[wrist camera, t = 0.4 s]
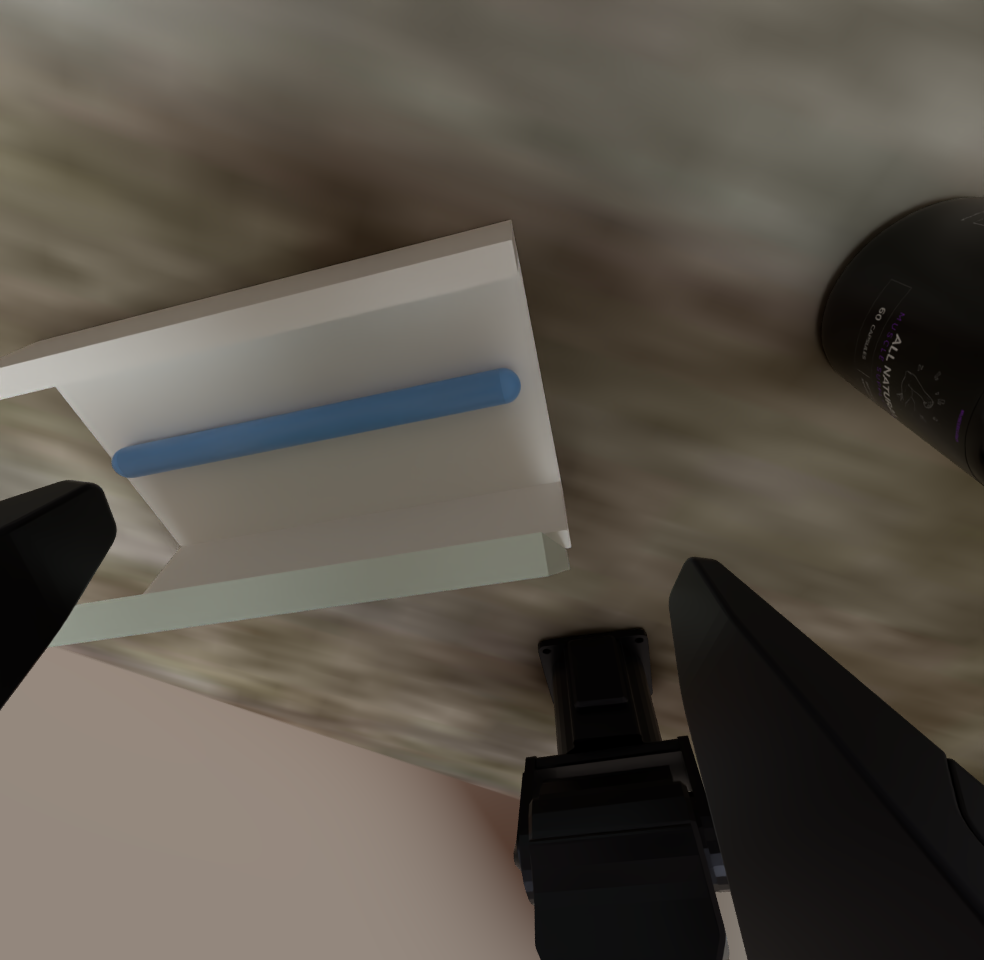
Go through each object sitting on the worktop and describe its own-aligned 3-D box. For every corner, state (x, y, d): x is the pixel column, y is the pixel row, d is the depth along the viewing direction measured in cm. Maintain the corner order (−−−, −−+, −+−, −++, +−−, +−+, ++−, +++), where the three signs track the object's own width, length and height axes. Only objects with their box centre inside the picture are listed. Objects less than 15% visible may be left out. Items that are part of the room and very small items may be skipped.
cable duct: (562, 490, 24) (571, 547, 21) (197, 552, 27) (154, 610, 24) (511, 219, 17) (511, 240, 14) (35, 341, 21) (-55, 381, 17)
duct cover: (567, 550, 21) (570, 569, 21) (163, 610, 24) (163, 627, 24) (541, 532, 9) (548, 576, 9) (-256, 656, 12) (-261, 691, 12)
